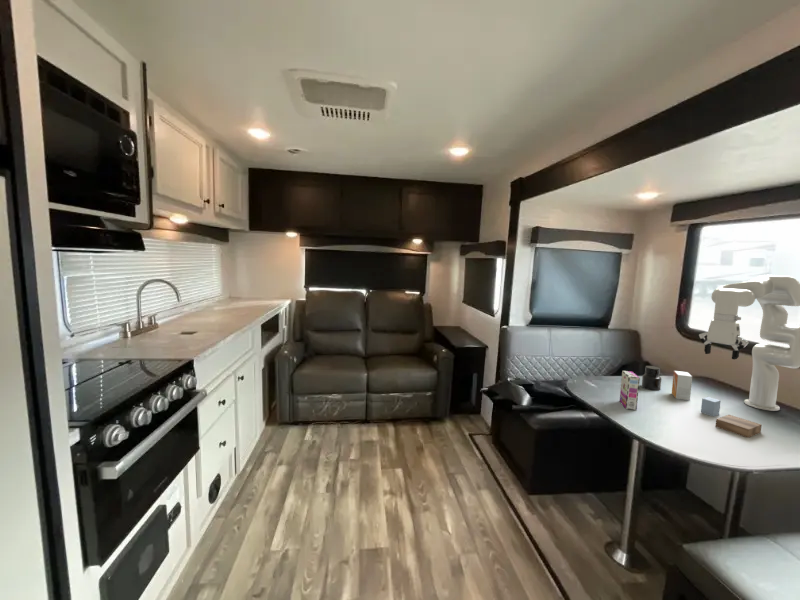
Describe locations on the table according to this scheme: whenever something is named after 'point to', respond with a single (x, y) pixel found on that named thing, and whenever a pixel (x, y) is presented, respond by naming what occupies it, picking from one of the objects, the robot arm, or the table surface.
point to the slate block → (710, 406)
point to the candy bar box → (629, 390)
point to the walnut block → (738, 425)
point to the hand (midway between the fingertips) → (720, 356)
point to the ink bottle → (651, 378)
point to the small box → (681, 385)
